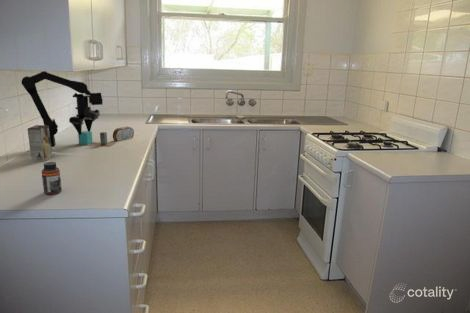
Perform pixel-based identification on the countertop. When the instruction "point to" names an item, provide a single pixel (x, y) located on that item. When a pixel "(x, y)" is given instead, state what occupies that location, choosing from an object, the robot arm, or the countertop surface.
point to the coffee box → (40, 142)
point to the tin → (123, 133)
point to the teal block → (85, 138)
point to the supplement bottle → (51, 178)
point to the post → (103, 138)
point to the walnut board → (98, 144)
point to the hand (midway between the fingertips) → (84, 133)
